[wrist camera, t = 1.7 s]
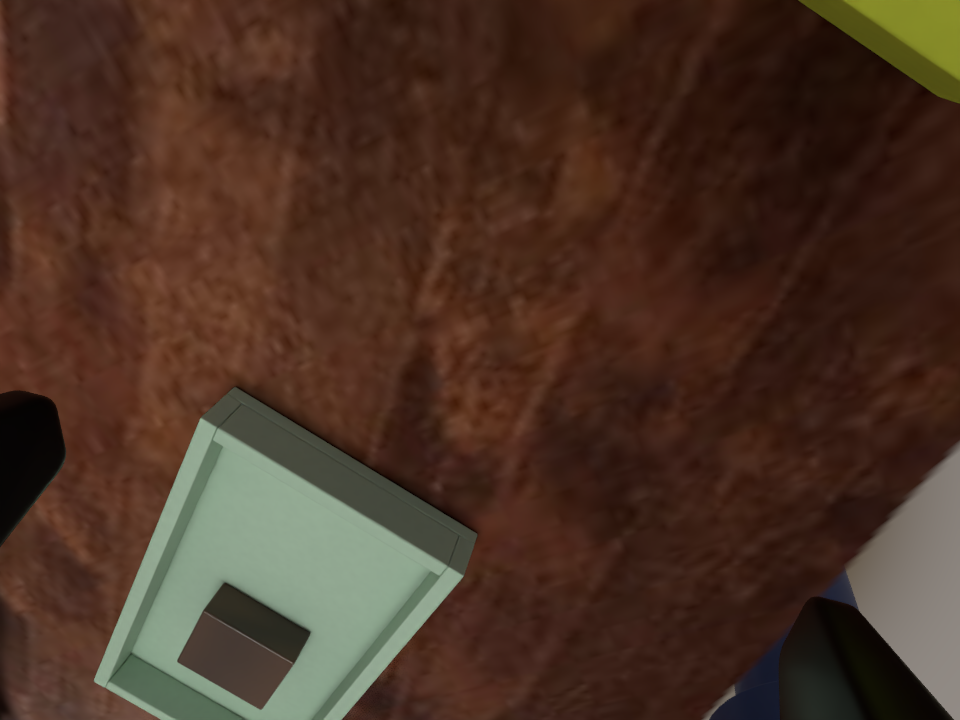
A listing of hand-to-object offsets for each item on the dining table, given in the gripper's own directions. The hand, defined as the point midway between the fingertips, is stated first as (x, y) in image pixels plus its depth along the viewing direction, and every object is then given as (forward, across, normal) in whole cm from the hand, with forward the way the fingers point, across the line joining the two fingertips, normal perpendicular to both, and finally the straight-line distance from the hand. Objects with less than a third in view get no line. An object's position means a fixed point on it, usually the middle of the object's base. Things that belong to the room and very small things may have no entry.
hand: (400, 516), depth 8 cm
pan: (+12, +8, +17) cm, 22 cm away
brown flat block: (+11, +9, +19) cm, 24 cm away
